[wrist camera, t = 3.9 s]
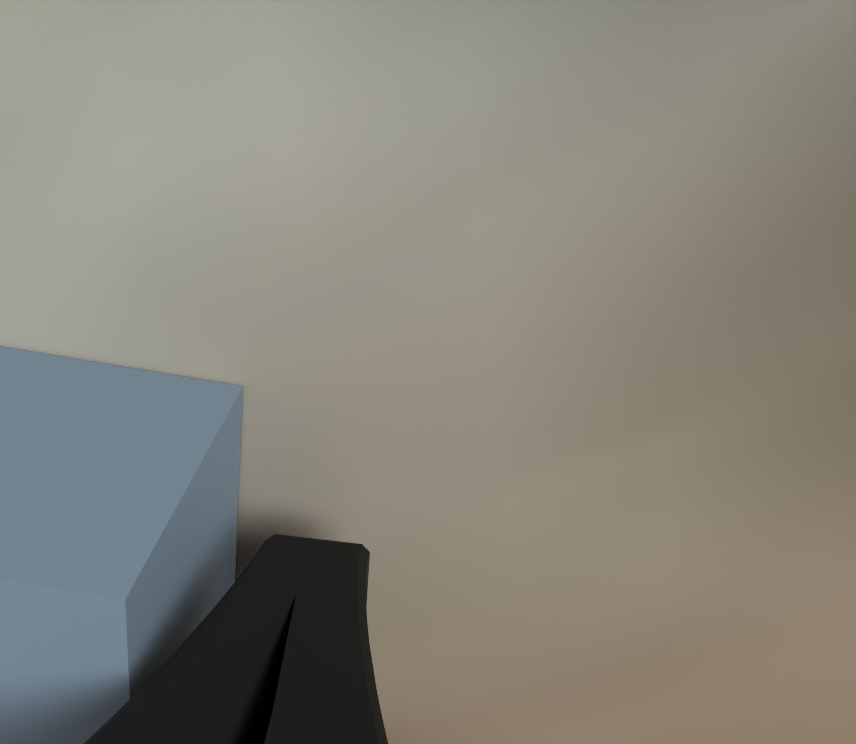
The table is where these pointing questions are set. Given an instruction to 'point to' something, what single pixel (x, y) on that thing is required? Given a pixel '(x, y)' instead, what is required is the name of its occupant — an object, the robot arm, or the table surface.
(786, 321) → the table surface
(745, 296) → the table surface
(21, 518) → the slate block
